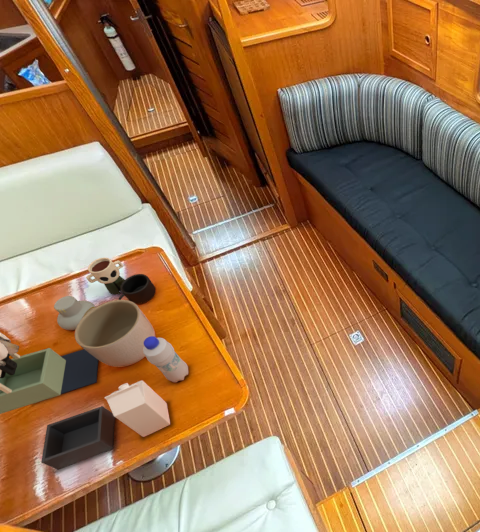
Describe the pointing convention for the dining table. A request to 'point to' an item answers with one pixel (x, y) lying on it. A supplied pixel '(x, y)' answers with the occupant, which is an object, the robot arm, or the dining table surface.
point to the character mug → (106, 274)
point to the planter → (114, 333)
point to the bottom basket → (78, 438)
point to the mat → (79, 370)
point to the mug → (138, 289)
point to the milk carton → (139, 408)
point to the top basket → (32, 379)
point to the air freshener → (71, 311)
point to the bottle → (165, 358)
